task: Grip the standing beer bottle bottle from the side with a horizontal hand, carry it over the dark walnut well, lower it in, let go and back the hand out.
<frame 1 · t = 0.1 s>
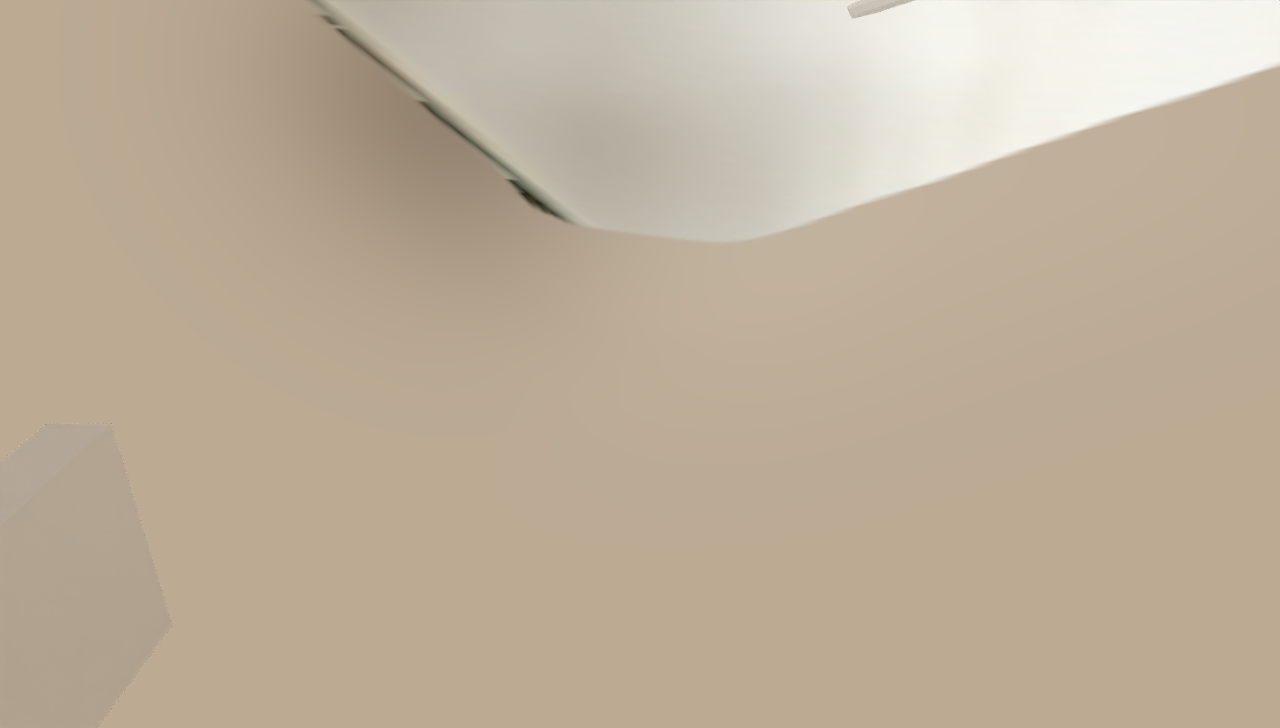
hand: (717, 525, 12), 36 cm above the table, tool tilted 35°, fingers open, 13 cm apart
butter knife: (844, 11, 52), on the table
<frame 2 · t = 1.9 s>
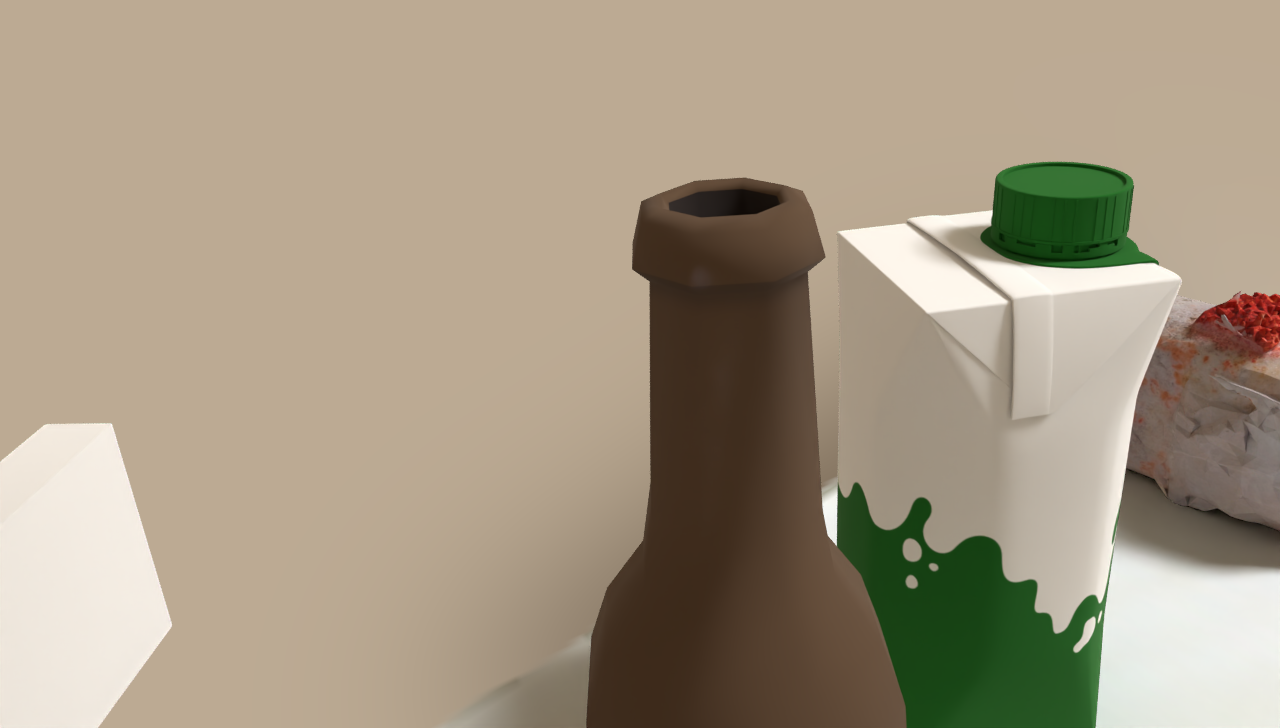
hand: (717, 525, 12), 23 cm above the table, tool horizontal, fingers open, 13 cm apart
milk carton: (957, 697, 42), on the table
food item: (1217, 488, 53), on the table
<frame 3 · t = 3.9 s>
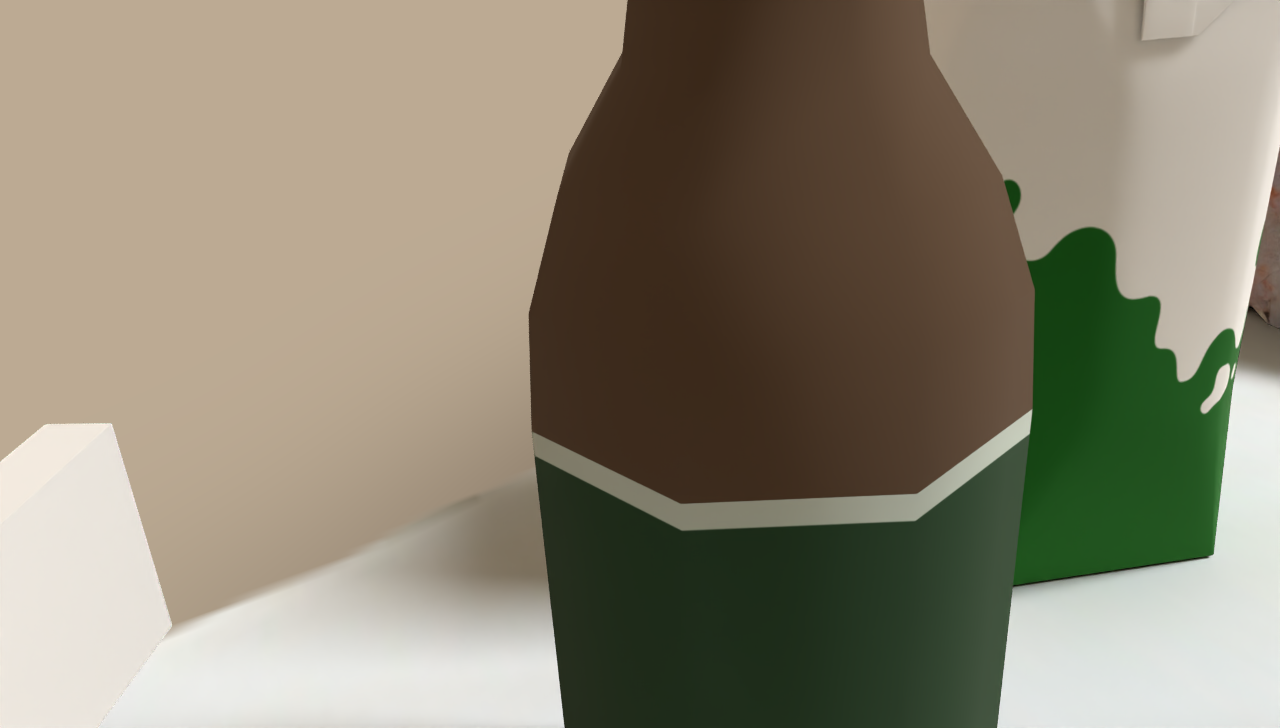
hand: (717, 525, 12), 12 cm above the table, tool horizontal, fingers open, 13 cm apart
milk carton: (1029, 513, 33), on the table
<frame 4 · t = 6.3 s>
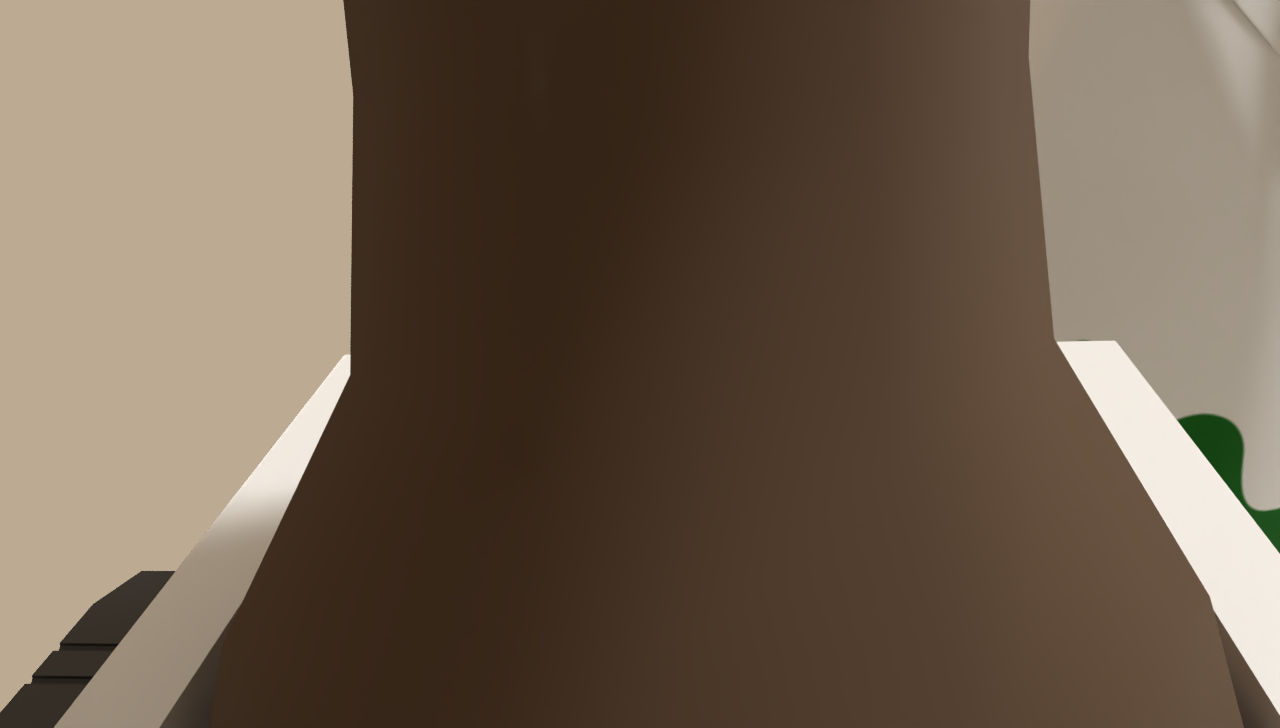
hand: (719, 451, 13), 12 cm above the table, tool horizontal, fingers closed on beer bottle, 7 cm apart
milk carton: (1086, 726, 25), on the table
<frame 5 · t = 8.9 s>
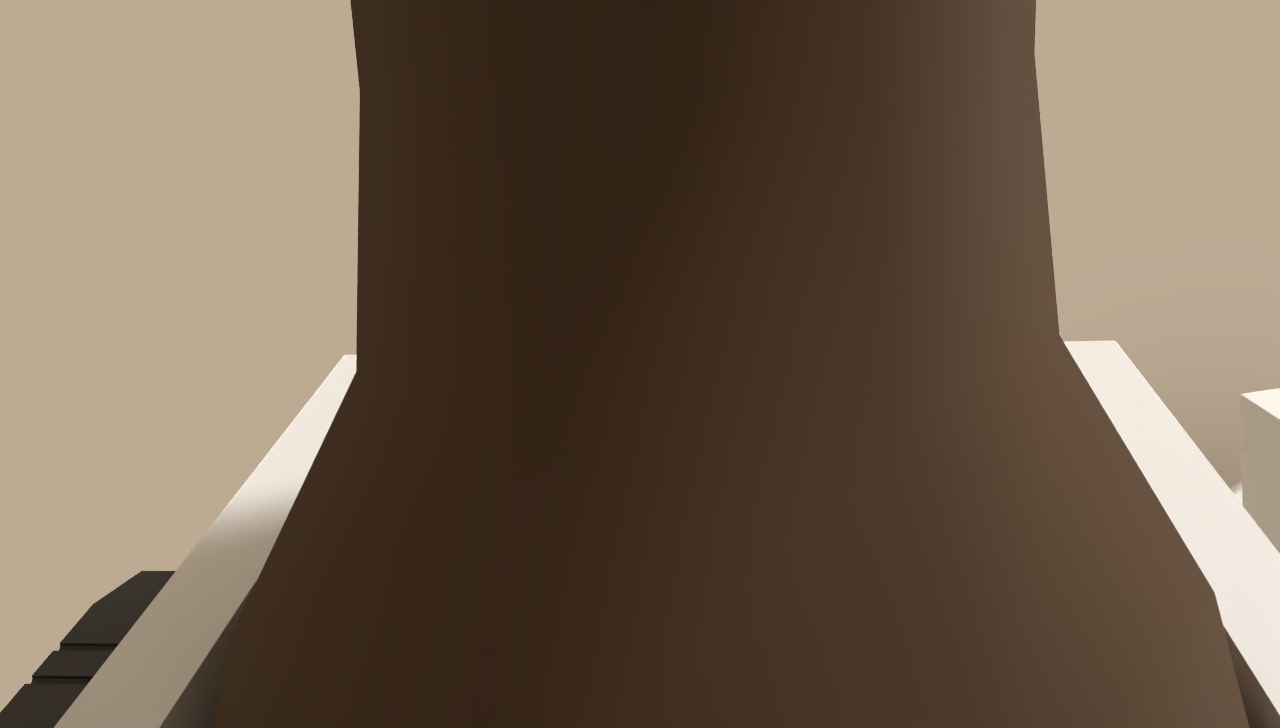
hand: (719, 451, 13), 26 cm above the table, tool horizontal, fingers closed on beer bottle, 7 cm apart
when the fingers open (14 cm above the table, at t = 11.7 s): beer bottle drops 1 cm, resting on walnut well.
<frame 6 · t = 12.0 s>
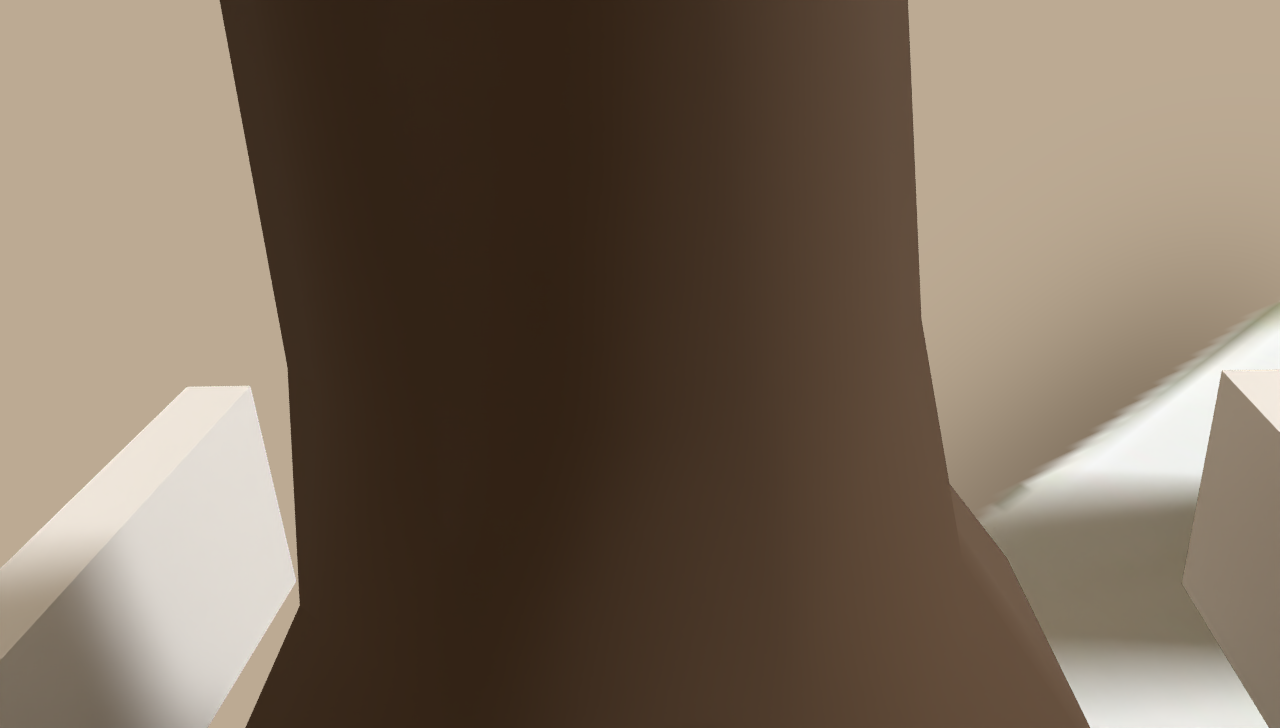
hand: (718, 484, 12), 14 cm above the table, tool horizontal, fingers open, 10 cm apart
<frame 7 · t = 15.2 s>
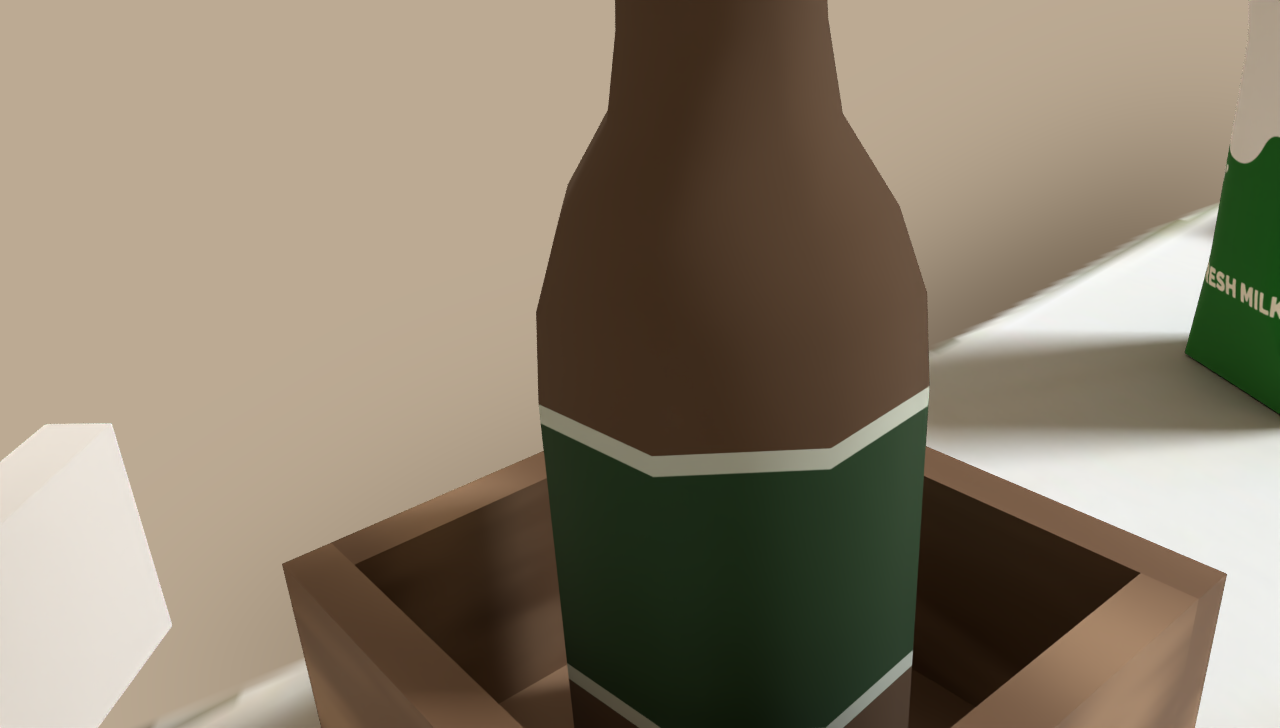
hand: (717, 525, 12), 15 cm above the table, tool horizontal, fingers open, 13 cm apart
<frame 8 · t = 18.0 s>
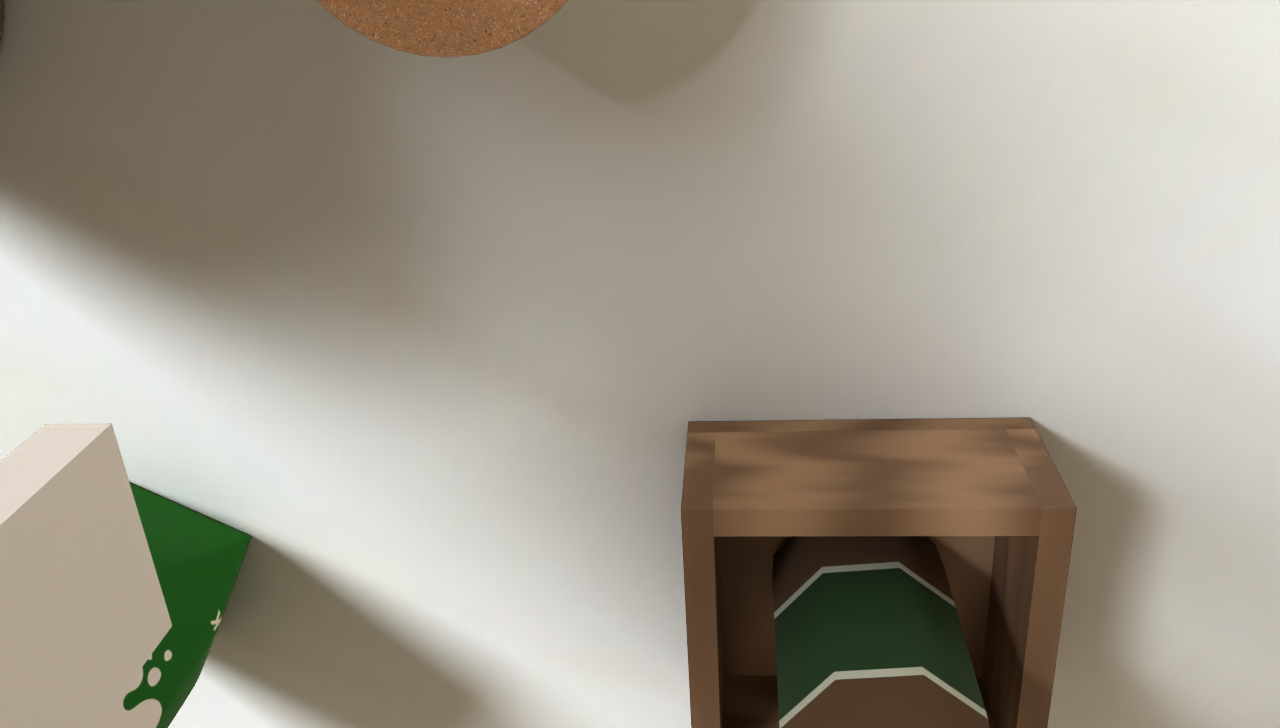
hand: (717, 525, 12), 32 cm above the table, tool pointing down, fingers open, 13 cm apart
milk carton: (166, 555, 53), on the table
beer bottle: (854, 568, 49), point 1 cm above the table, touching walnut well
walnut well: (852, 558, 49), on the table
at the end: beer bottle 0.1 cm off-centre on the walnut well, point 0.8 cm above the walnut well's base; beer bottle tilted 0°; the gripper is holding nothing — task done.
